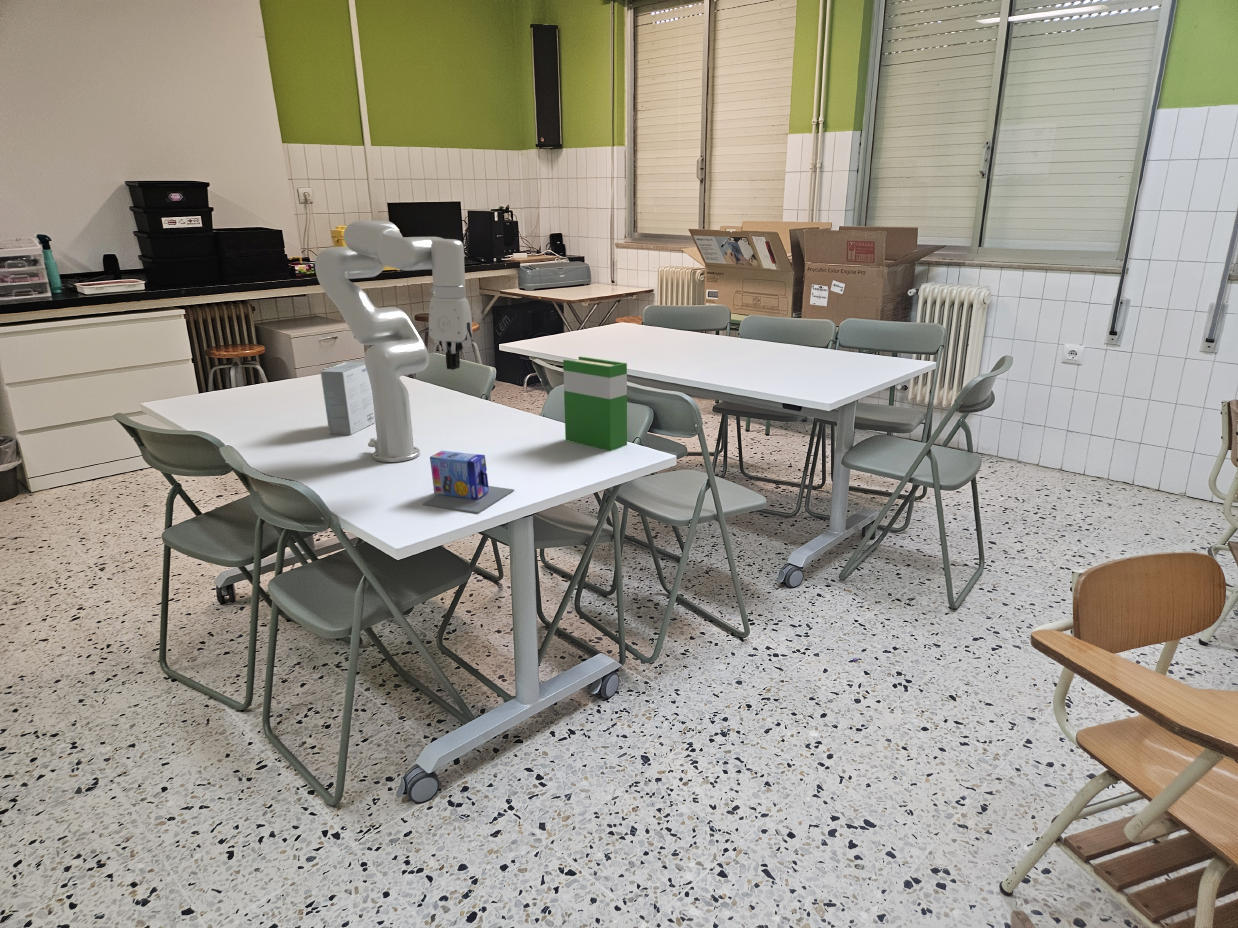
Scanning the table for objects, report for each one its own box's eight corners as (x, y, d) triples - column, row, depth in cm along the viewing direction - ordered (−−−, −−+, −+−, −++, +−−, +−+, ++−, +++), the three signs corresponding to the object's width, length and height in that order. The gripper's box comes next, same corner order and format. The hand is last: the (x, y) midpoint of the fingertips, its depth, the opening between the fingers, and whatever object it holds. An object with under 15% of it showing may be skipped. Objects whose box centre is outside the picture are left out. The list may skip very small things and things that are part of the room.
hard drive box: (354, 421, 248) (347, 361, 242) (376, 422, 247) (369, 362, 241) (327, 434, 234) (319, 370, 228) (350, 435, 232) (342, 371, 226)
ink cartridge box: (428, 457, 177) (483, 462, 172) (440, 449, 182) (494, 454, 177) (433, 495, 181) (487, 502, 176) (445, 487, 186) (498, 492, 181)
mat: (422, 504, 175) (422, 503, 175) (461, 483, 189) (461, 481, 189) (478, 513, 170) (478, 512, 170) (514, 491, 184) (514, 489, 184)
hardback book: (565, 440, 226) (563, 360, 219) (582, 434, 231) (580, 356, 224) (610, 450, 215) (609, 367, 208) (627, 445, 221) (626, 363, 213)
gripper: (414, 292, 181) (419, 368, 187) (466, 297, 176) (469, 374, 182) (434, 289, 188) (438, 362, 194) (484, 293, 182) (487, 369, 188)
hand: (453, 368), depth 188 cm, fingers closed
